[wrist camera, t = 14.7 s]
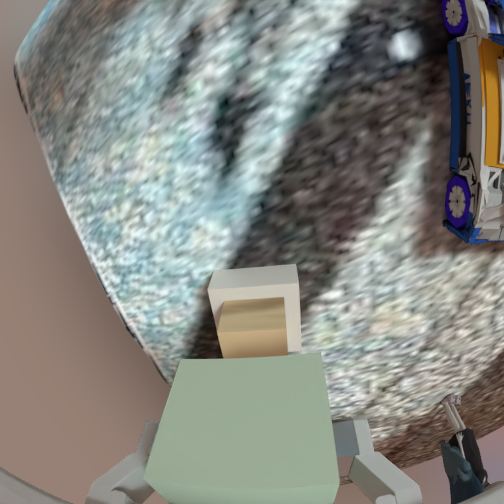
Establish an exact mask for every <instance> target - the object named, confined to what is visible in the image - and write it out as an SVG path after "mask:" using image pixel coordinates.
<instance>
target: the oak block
mask: <svg viewBox="0 0 504 504" xmlns="http://www.w3.org/2000/svg"><path fill="white" fill-rule="evenodd" d="M217 334H218V338H219V343H220V347H221V351H222V354H223V358H224V359H231V358H254V357H272V356H286V355H288V343H287V329H286V316H285V303H284V297H274V298H261V299H247V300H231V301H224V305H223V309H222V313H221V317H220V322H219V326H218V330H217Z"/></svg>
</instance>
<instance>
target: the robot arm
mask: <svg viewBox="0 0 504 504" xmlns="http://www.w3.org/2000/svg"><path fill="white" fill-rule="evenodd" d="M159 424H160V422H155V421H147V422H146V424H145V426H144V428H143V431H142V434H141V437H140V440H139V443H138V445H137V448H136V451H135V453H131V454H130V455H128V456H127V457H126V458H124V459H123V460H122V461H121V462H119V463H118V464H117V465H116V466H114V467H113V468H111V469H110V470H109V471H107V472H106V473H105V474H103V475H102V476H101V477H99V478H98V479H97V480H95V481H94V482H93V483H92V486H91V489H90V491H89V493H88V496H87V499H86V501H85V504H142V503H143V502H144V501H145V500H146V499H147V498H148V497H149V496H150V495H151V494H152V493H153V492H154V491H155V490H154V489H153V488H152V487H151V486H150V485H149V484H148V483H147V482H146V481H145V480H144V479H143V476H144V473H145V470H146V466H147V463H148V460H149V457H150V453H151V450H152V447H153V444H154V440H155V437H156V434H157V431H158V428H159ZM332 426H333V433H334V441H335V448H336V456H337V464H338V473H339V477H341V476H348V477H349V478H350V479H351V480H352V481H353V482H354V483H355V484H356V486H357V487H358V488H359V489H360V490H361V491H362V492H363V493H364V495H365V496H366V497H367V498H368V499H369V500H370V501H371V502H372V503H373V504H423V500H422V495H421V491H420V487H419V485H418V484H416V483H415V482H414V481H413V480H412V479H410V478H409V477H408V476H407V475H406V474H404V473H403V472H402V471H401V470H400V469H398V468H397V467H396V466H395V465H394V464H392V463H391V462H390V461H389V460H388V459H387V458H385V457H384V456H383V455H382V454H381V453H380V452H374V447H373V443H372V438H371V434H370V430H369V425H368V421H367V418H366V416H365V415H363V416H357V417H349V418H343V419H336V420H332ZM0 504H72V503H70V502H68V501H65V500H63V499H61V498H58V497H56V496H54V495H52V494H50V493H47V492H45V491H43V490H41V489H39V488H37V487H35V486H33V485H31V484H29V483H27V482H25V481H24V480H22V479H20V478H18V477H16V476H15V475H13V474H11V473H9V472H8V471H6V470H4V469H3V468H1V467H0ZM458 504H504V482H502V483H501V484H499V485H497V486H495V487H493V488H491V489H489V490H487V491H485V492H483V493H481V494H479V495H476V496H474V497H472V498H470V499H468V500H465V501H463V502H460V503H458Z"/></svg>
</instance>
